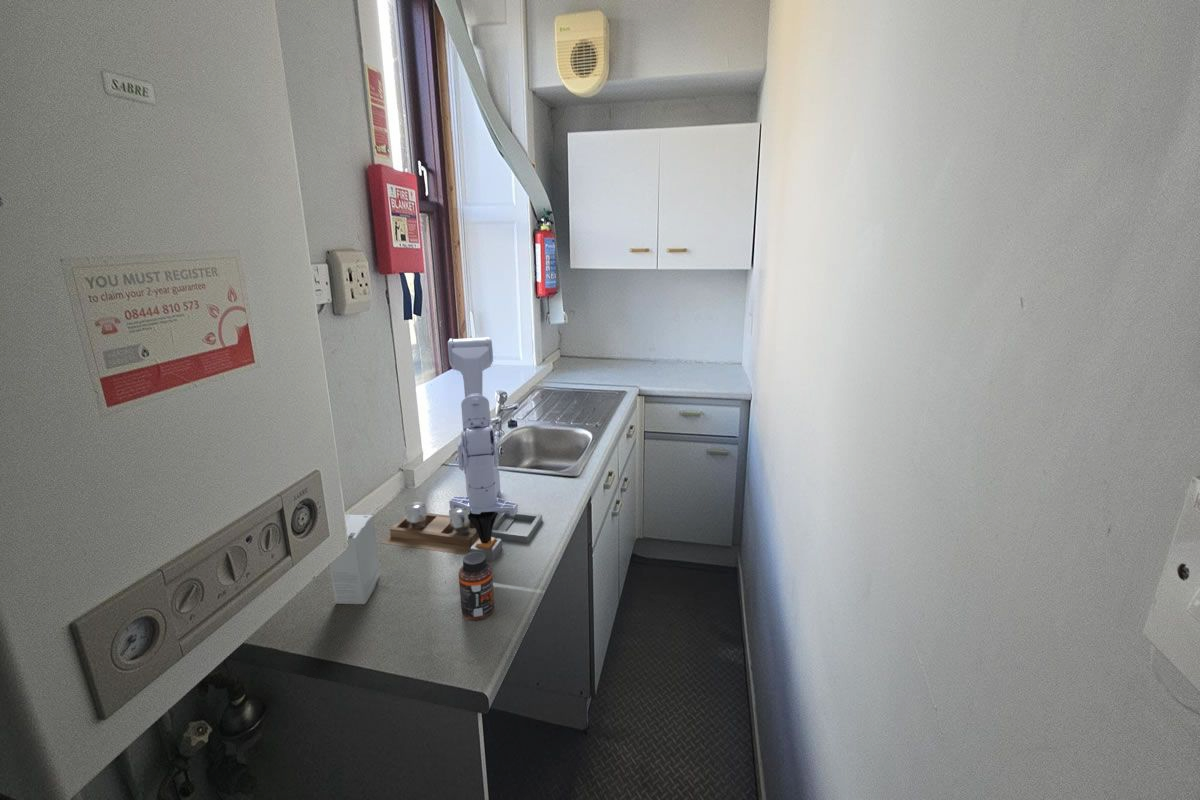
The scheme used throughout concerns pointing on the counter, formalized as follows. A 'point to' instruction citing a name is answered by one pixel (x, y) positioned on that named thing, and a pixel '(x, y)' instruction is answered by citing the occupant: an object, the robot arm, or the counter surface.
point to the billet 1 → (416, 515)
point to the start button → (486, 545)
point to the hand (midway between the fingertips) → (486, 540)
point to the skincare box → (356, 562)
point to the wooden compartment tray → (432, 536)
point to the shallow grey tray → (517, 526)
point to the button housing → (489, 550)
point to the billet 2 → (460, 521)
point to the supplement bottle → (476, 587)
